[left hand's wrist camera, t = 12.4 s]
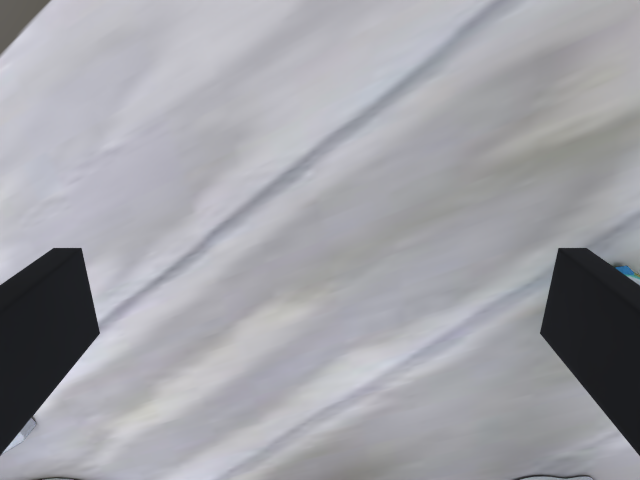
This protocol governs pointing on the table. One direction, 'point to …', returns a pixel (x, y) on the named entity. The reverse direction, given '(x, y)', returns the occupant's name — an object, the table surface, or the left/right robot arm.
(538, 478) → the right robot arm
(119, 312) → the table surface
